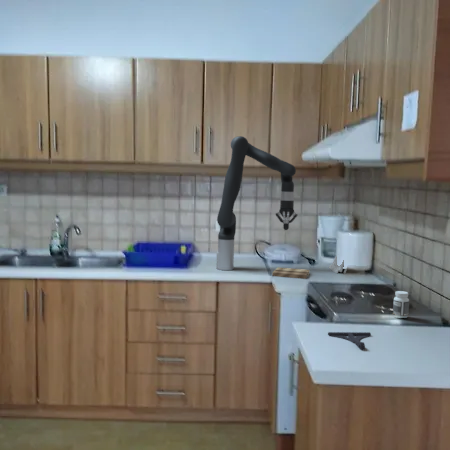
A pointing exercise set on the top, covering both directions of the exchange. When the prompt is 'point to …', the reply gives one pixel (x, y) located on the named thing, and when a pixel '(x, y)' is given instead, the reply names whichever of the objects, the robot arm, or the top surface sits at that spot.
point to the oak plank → (294, 270)
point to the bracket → (352, 337)
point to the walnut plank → (290, 274)
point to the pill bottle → (401, 303)
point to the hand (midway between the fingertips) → (286, 229)
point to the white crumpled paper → (336, 267)
